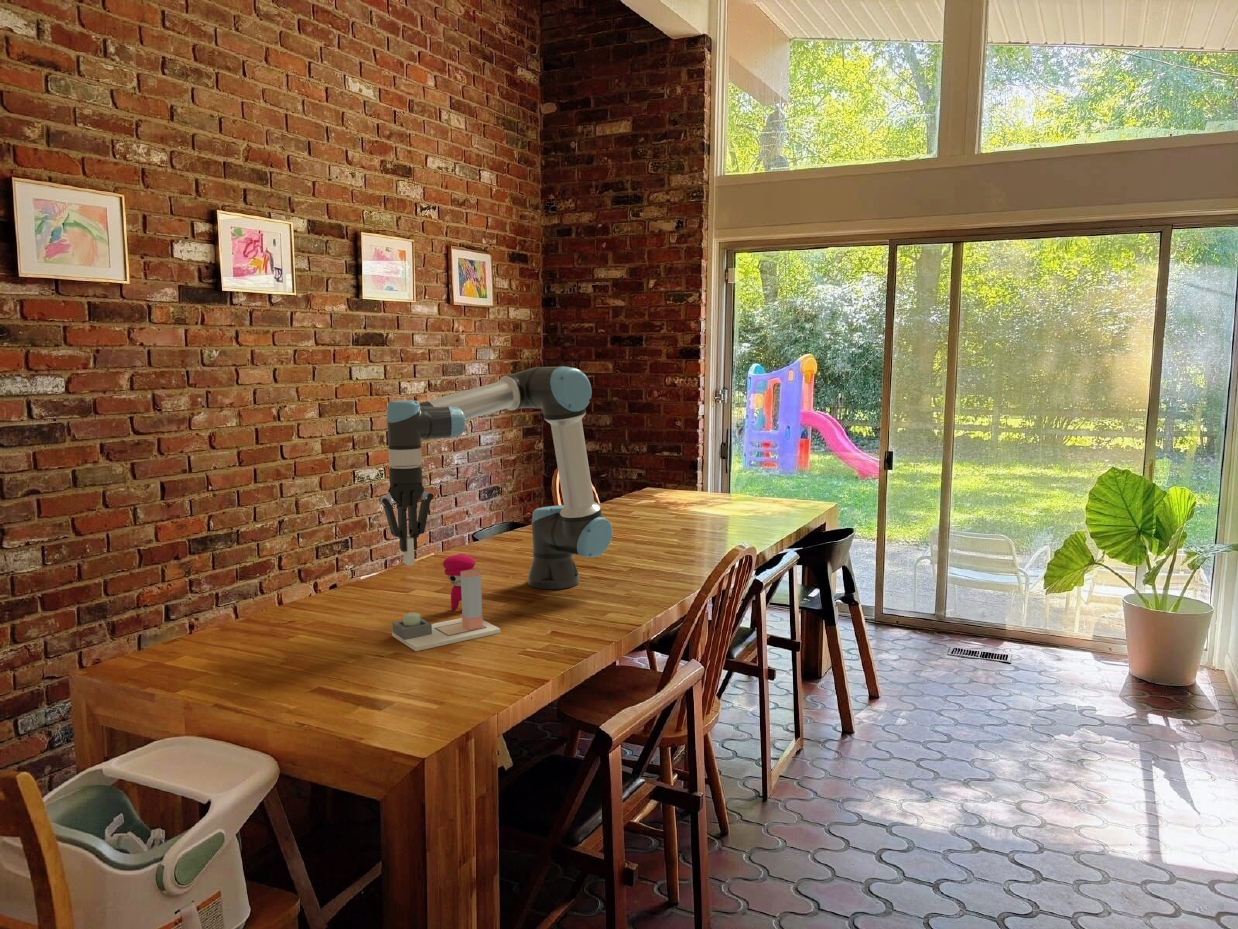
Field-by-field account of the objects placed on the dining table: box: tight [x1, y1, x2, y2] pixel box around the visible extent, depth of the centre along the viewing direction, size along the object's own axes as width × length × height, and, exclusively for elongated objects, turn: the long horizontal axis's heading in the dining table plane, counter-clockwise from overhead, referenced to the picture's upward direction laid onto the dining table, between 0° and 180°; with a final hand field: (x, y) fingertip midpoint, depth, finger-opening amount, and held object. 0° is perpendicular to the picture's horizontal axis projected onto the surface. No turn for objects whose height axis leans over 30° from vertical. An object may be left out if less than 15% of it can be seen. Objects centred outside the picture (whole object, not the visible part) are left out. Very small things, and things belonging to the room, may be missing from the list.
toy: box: [442, 553, 476, 610], centre depth 234 cm, size 8×8×15 cm
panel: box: [391, 617, 501, 652], centre depth 214 cm, size 22×14×4 cm, turn 126°
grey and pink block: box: [460, 568, 484, 631], centre depth 215 cm, size 4×4×14 cm
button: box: [402, 612, 421, 628], centre depth 212 cm, size 4×4×3 cm
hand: (409, 564), depth 210 cm, fingers closed
